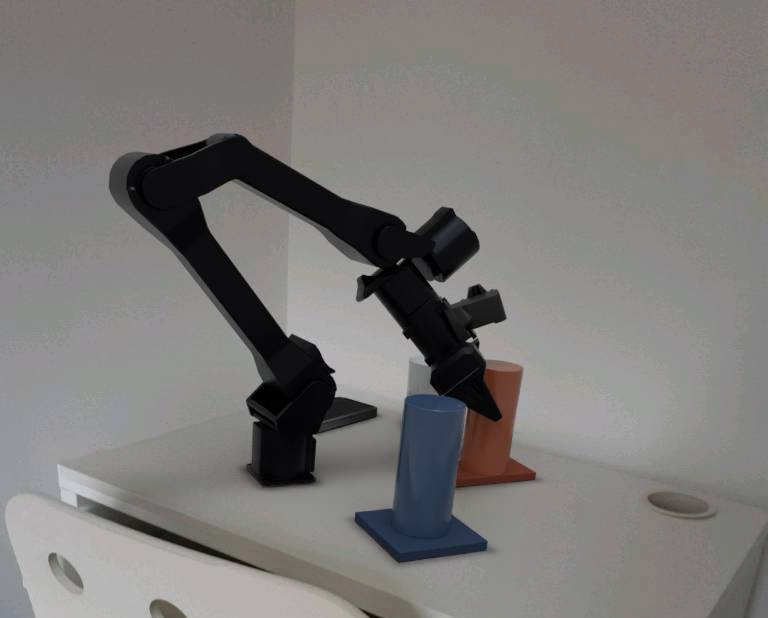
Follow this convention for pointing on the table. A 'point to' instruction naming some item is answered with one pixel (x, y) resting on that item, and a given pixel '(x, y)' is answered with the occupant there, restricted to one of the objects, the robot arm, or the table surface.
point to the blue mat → (419, 548)
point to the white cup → (419, 377)
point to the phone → (346, 413)
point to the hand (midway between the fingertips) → (496, 409)
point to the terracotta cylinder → (488, 438)
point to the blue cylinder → (427, 465)
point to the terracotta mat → (513, 474)
